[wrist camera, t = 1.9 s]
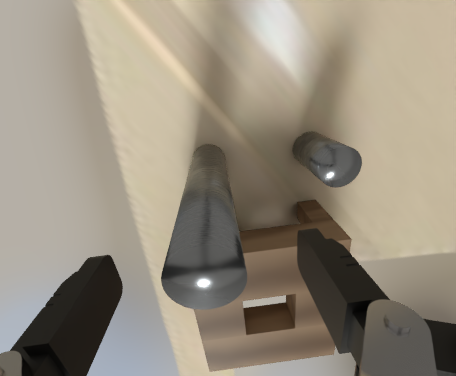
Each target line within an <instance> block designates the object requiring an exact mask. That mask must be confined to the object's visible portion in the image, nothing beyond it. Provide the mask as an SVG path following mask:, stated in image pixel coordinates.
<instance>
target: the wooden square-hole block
mask: <svg viewBox="0 0 456 376" xmlns="http://www.w3.org/2000/svg"><path fill="white" fill-rule="evenodd" d="M297 218H298V220H299V221H300V223H301V224H294V225H287V226H279V227H271V228H264V229H256V230H248V231H241V232H239V234H240V239H241V244H242V249H243V255H244V260H245V265H246V270H247V283H246V286H245V288H244V290H243V292H242V293H241V294H240V295H239V296H238V297H237V298H236V299H235V300H234V301H232V302H231V303H229V304H227V305H225V306H222V307H219V308H215V309H207V310H199V309H194V312H195V315H196V319H197V323H198V327H199V331H200V335H201V339H202V343H203V347H204V351H205V355H206V359H207V363H208V367H209V371H210V372H212V371H219V370H226V369H233V368H240V367H247V366H254V365H261V364H268V363H276V362H283V361H290V360H297V359H304V358H311V357H318V356H325V355H332V354H334V350H335V344H334V341H333V339H332V337H331V335H330V333H329V331H328V329H327V327H326V325H325V323H324V321H323V319H322V317H321V315H320V313H319V311H318V309H317V306H316V304H315V302H314V300H313V298H312V296H311V294H310V292H309V290H308V288H307V286H306V284H305V282H304V280H303V278H302V276H301V274H300V271H299V268H298V263H297V234H298V231H299V230H304V229H312V228H317V229H318V230H319V231H320V232H321V233H322V235H323V236H324V237H325V238H326V239H330V238H332V239H334V240H336V241H337V242H339V243H340V244H342V245H344V247H345V248H346V249H347V250H348V251H349V252H350V246H351V240H352V239H351V238H350V237H349V236H348V235H347V234H346V233H345V232H344V230H343V229H342V228H341V227H340V226H339V225H338V224H337V223H336V222H335V221H334V220H333V218H332V217H331V216H330V215H329V214H328V213H327V212H326V211H325V210H324V209H323V208H322V207H321V205H320V204H319V203H318V202H317V201H316V200H311V201H303V202H298V205H297ZM283 295H286V303H278V304H271V305H264V306H256V307H249V308H243V303H242V301H245V300H253V299H261V298H268V297H275V296H283Z"/></svg>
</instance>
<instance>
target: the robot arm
mask: <svg viewBox="0 0 456 376" xmlns="http://www.w3.org/2000/svg"><path fill="white" fill-rule="evenodd" d="M297 263H298V268H299V271H300V274H301V276H302V278H303V280H304V282H305V284H306V286H307V288H308V290H309V292H310V294H311V296H312V298H313V300H314V302H315V304H316V306H317V309H318V311H319V313H320V315H321V317H322V319H323V321H324V323H325V325H326V327H327V329H328V331H329V333H330V335H331V337H332V339H333V341H334V344H335V346H336V348H337V350H338V352H339V353H340V354H342V353H349V352H351V353H352V356H353V357H354V359H355V361H356V367H355V375H354V376H456V324H451V323H445V322H439V321H432V320H426V319H423V318H422V317H421V316H420V315H419V314H417V313H416V312H415V311H414V310H412V309H410V308H409V307H407V306H405V305H403V304H401V303H399V302H396V301H392V300H390V299H389V298H388V297H387V296H386V295H385V294H384V292H383V291H382V290H381V289H380V288H379V286H378V285H377V284H376V283H375V282H374V281H373V279H372V278H371V277H370V276H369V275H368V274H367V272H366V271H365V270H364V269H363V268H362V266H361V265H359V263H358V262H357V261H356V259H355V258H354V257H352V255H351V254H350V252H349V251H348V250H347V249H346V248H345V247H344V245H342V244H340V243H339V242H337V241H336V240H334V239H332V238H330V239H326V238H325V237H324V236H323V235H322V233H321V232H320V231H319V230H318V229H317V228H312V229H304V230H299V231H298V234H297ZM122 287H123V286H122V281H121V278H120V277H119V274H118V271H117V269H116V266H115V264H114V262H113V259H112V257H111V256H110V255H105V256H97V257H90V258H88V259H87V260H86V261H85V262H84V264H83V265H82V266H81V268H80V269H79V271H78V272H75V273H74V274H72V276H70V277H69V278H68V279H66V280H65V281H64V282H63V283H62V284H61V286H60V287H59V288H58V289H57V291H56V292H55V293H54V296H53V297H51V298H50V300H49V301H48V302H47V303H46V306H45V307H44V308H43V309H42V310H41V311H40V312H39V314H38V315H37V316H36V318H35V319H34V320H33V321H32V323H31V324H30V325H29V327H28V328H27V329H26V331H25V332H24V333H23V334H22V336H21V337H20V338H19V340H18V341H17V342H16V343H15V345H14V346H13V347H12V349H11V350H10V351H8V352H4V353H1V354H0V376H86V375H87V373H88V371H89V369H90V366H91V364H92V362H93V360H94V358H95V355H96V353H97V350H98V348H99V346H100V344H101V342H102V339H103V337H104V335H105V332H106V330H107V328H108V326H109V323H110V321H111V318H112V316H113V314H114V312H115V310H116V307H117V305H118V303H119V301H120V298H121V295H122V289H123V288H122Z"/></svg>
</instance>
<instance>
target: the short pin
mask: <svg viewBox="0 0 456 376" xmlns="http://www.w3.org/2000/svg"><path fill="white" fill-rule="evenodd" d="M293 154H294V157H295V158H296V159H297V160H298V161H299V162H300V163H301V164H302V165H304V166H305V167H306V168H307V169H308V170H309V171H311V172H312V173H313V174H314V175H315V176H316V177H318V178H319V179H320V180H321V181H322V182H323V183H325V184H326V185H328V186H330V187H342V186H345V185H347V184H349V183H350V182H352V181H353V180H354V179H355V178H356V176H357V175H358V174H359V172H360V169H361V165H362V159H361V156H360V154H359V153H358V151H356V150H355V149H353V148H351V147H349V146H346V145H344V144H342V143H340V142H337V141H335V140H333V139H330V138H328V137H326V136H323V135H321V134H319V133H316V132H306V133H304V134H302V135H301V136H299V137H298V138H297V140H296V141H295V143H294V146H293Z"/></svg>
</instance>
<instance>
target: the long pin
mask: <svg viewBox="0 0 456 376" xmlns="http://www.w3.org/2000/svg"><path fill="white" fill-rule="evenodd" d="M161 282H162V286H163V289H164V291H165V292H166V294H167V295H168V296H169V297H170V298H171V299H172V300H173V301H175V302H176V303H178V304H180V305H182V306H185V307H188V308H192V309H199V310H207V309H215V308H219V307H222V306H225V305H227V304H229V303H231V302H232V301H234V300H235V299H236V298H237V297H238V296H239V295H240V294H241V293H242V292H243V290H244V288H245V286H246V283H247V270H246V265H245V260H244V255H243V249H242V244H241V239H240V234H239V229H238V223H237V218H236V213H235V208H234V203H233V197H232V192H231V187H230V182H229V177H228V171H227V166H226V161H225V156H224V153H223V152H222V150H221V149H220V148H218V147H217V146H215V145H211V144H206V145H202V146H200V147H199V148H198V149H197V150H196V151H195V152H194V154H193V158H192V162H191V165H190V169H189V173H188V177H187V181H186V184H185V188H184V192H183V196H182V199H181V203H180V207H179V211H178V215H177V218H176V222H175V226H174V230H173V233H172V237H171V241H170V245H169V248H168V252H167V256H166V260H165V264H164V267H163V271H162V276H161Z"/></svg>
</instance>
